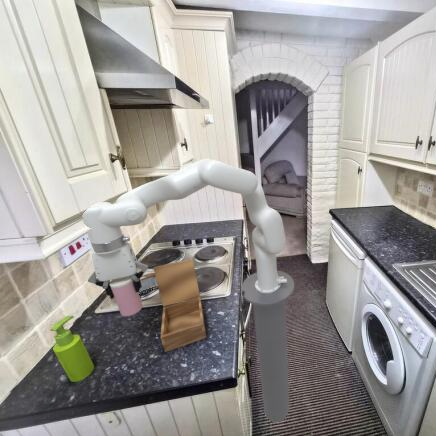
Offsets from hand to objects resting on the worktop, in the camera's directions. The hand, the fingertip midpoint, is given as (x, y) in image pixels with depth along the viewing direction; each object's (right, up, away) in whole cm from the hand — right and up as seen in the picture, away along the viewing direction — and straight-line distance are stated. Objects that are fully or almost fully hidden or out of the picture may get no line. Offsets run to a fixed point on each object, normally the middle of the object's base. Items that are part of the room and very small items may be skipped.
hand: (126, 292), depth 74 cm
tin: (-16, -11, +34) cm, 39 cm away
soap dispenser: (-13, -25, -1) cm, 28 cm away
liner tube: (0, -7, +3) cm, 7 cm away
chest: (+13, -18, +14) cm, 26 cm away
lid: (+9, -1, +15) cm, 18 cm away
